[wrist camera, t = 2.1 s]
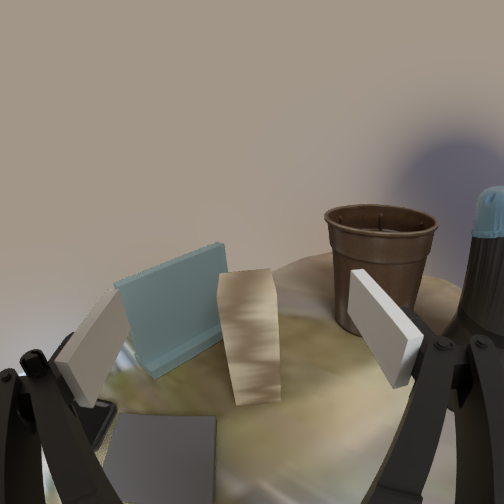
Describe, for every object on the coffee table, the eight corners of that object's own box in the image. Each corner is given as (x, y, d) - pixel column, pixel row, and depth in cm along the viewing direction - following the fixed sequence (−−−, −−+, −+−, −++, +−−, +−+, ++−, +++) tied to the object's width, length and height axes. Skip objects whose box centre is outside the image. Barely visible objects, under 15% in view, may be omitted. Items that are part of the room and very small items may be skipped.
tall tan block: (276, 370, 34) (270, 267, 29) (281, 401, 29) (276, 292, 24) (235, 374, 34) (219, 272, 29) (236, 405, 29) (216, 298, 24)
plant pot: (365, 282, 52) (370, 198, 47) (437, 314, 39) (454, 217, 34) (301, 315, 45) (299, 214, 39) (382, 365, 32) (402, 243, 26)
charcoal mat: (216, 420, 27) (215, 415, 26) (214, 511, 16) (211, 508, 16) (123, 418, 27) (120, 412, 26) (100, 496, 16) (95, 492, 16)
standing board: (242, 326, 43) (232, 245, 39) (154, 380, 33) (123, 291, 28) (221, 315, 47) (209, 240, 42) (137, 362, 36) (108, 279, 32)
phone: (36, 382, 29) (117, 402, 28) (40, 387, 30) (120, 408, 28) (10, 417, 22) (92, 452, 21) (14, 422, 22) (96, 457, 21)
